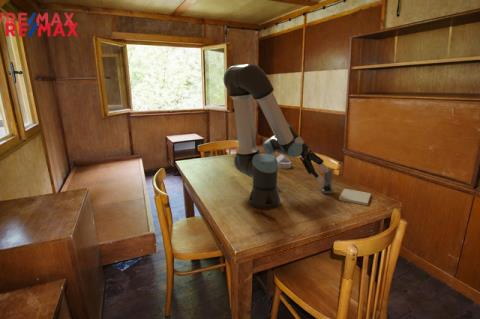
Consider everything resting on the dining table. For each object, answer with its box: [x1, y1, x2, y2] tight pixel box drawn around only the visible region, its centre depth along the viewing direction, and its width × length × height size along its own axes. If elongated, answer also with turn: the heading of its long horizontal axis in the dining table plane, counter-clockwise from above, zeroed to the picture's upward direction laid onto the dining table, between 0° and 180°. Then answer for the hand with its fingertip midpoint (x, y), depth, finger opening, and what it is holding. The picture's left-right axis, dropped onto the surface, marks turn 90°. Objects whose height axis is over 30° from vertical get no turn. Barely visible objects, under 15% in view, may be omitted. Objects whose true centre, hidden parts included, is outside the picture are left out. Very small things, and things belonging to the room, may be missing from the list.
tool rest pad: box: [338, 188, 372, 206], centre depth 136 cm, size 13×13×1 cm
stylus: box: [320, 169, 334, 196], centre depth 142 cm, size 6×6×12 cm
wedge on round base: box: [275, 153, 292, 170], centre depth 188 cm, size 9×7×13 cm
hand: (325, 177), depth 142 cm, fingers open, 13 cm apart
